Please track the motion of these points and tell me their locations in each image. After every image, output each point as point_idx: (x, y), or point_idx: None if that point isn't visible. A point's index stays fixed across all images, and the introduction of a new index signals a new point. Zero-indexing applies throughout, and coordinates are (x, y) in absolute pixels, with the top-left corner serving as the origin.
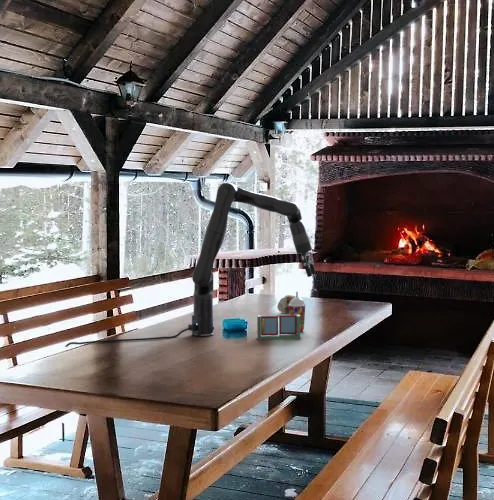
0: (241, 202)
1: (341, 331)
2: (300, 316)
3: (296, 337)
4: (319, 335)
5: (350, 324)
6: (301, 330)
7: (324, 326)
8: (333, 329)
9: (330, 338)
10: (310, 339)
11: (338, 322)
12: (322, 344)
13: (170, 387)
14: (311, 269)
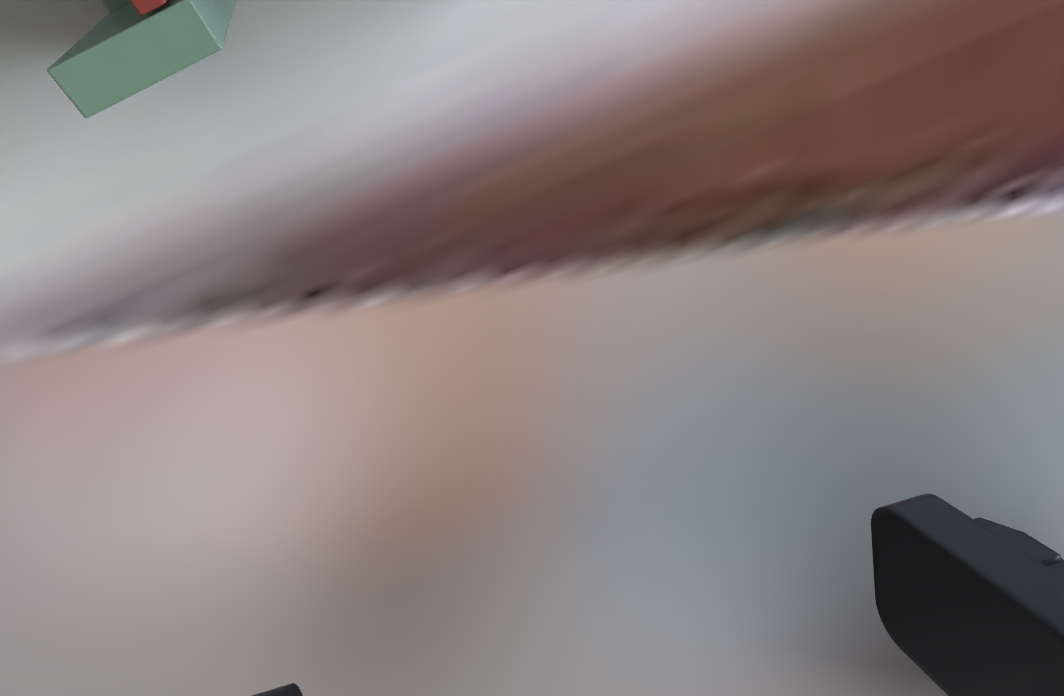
0: None
1: (677, 246)
2: None
3: (106, 5)
4: (443, 148)
5: (968, 190)
6: None
7: (879, 9)
8: (749, 150)
9: (355, 293)
10: (208, 151)
11: (1059, 60)
12: (60, 348)
13: None
14: (1005, 655)
